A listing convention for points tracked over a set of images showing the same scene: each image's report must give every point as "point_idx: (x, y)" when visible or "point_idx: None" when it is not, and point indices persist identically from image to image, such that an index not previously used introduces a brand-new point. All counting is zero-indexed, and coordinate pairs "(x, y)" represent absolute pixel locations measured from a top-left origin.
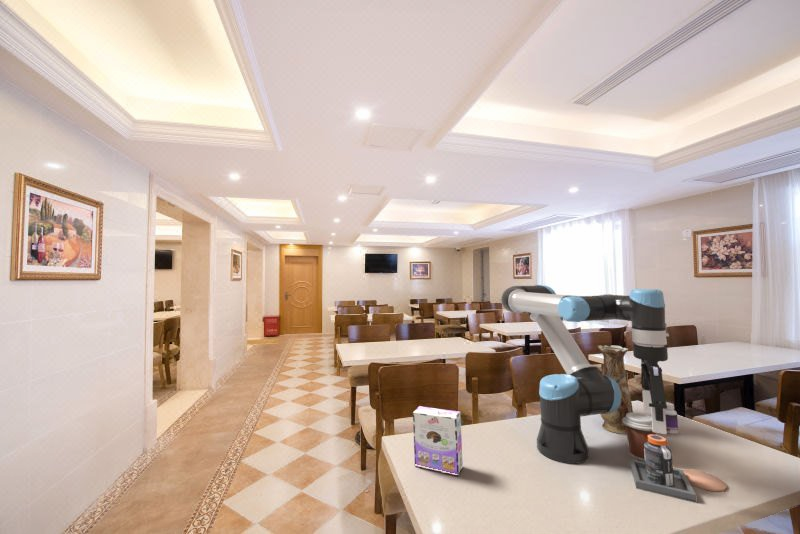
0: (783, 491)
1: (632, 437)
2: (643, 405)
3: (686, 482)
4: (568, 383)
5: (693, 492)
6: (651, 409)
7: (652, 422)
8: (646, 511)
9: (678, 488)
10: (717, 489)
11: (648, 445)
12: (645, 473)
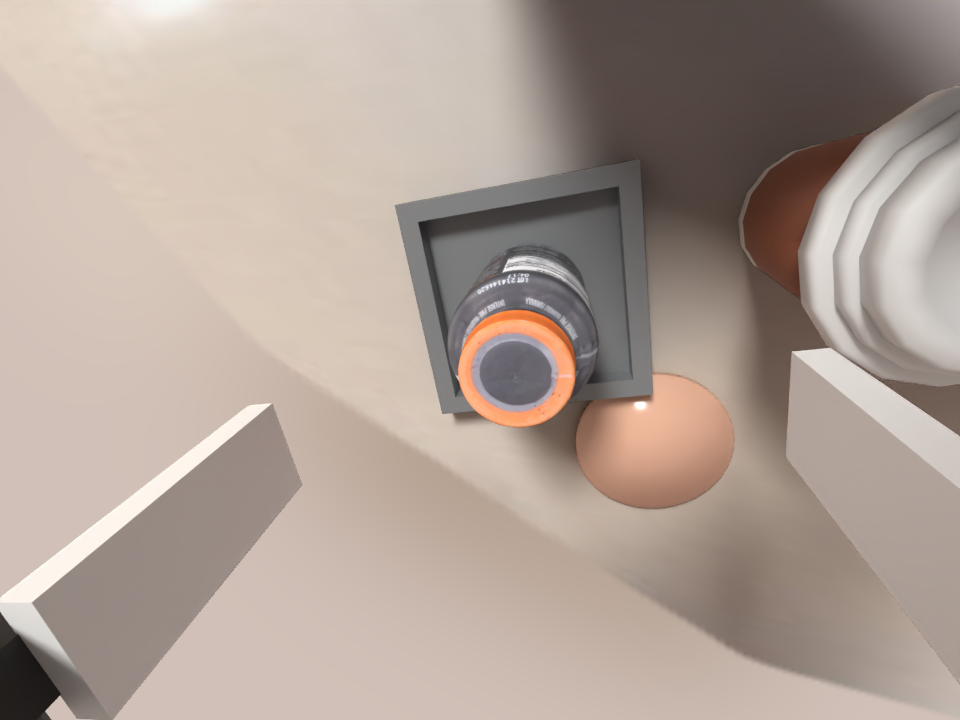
0: (716, 635)
1: (815, 173)
2: (860, 389)
3: None
4: None
5: (458, 407)
6: (72, 556)
7: (186, 453)
8: (260, 245)
9: None
10: (586, 475)
11: (483, 305)
12: (561, 238)
